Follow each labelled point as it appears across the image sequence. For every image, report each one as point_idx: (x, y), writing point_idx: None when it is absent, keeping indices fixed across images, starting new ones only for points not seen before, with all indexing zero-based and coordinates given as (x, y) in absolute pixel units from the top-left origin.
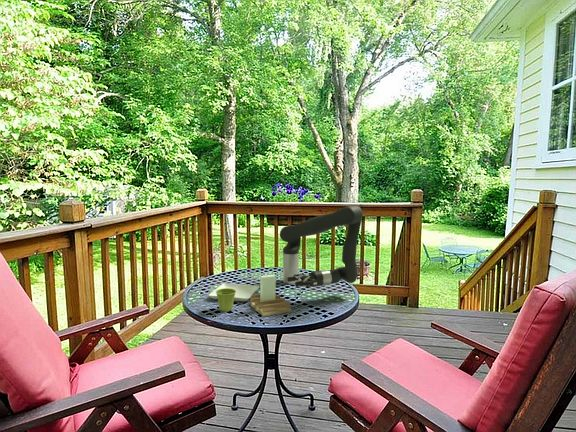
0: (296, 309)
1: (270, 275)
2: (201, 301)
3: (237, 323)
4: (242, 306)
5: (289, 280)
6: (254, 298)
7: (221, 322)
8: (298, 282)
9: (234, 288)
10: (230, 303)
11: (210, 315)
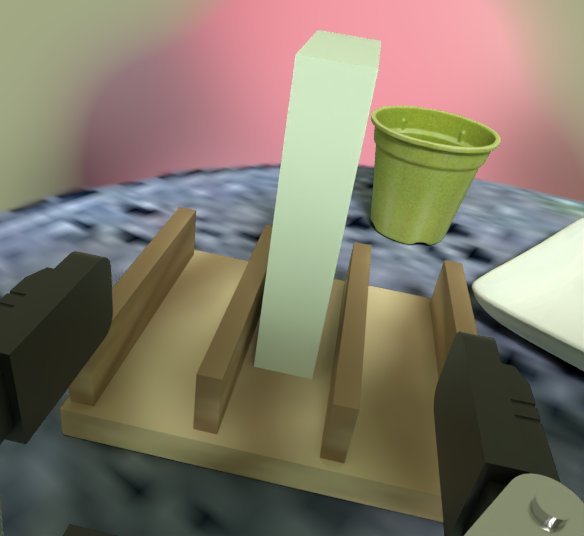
0: (49, 519)
1: (357, 55)
2: None
3: (194, 184)
4: (416, 282)
5: (444, 404)
6: (438, 297)
7: (254, 169)
8: (46, 287)
9: None
10: (376, 183)
11: (358, 180)
